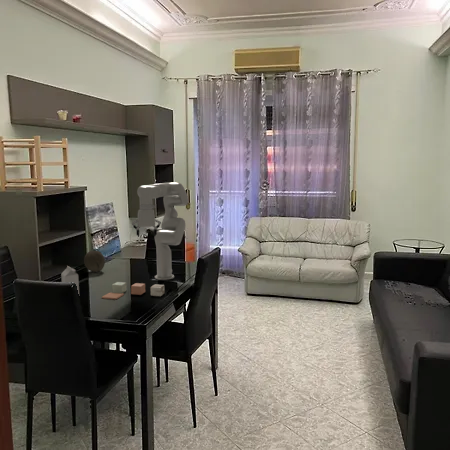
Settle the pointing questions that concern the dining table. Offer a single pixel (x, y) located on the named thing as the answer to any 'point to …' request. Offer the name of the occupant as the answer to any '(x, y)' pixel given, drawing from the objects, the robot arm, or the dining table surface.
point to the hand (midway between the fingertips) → (146, 236)
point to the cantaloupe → (94, 261)
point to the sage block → (119, 287)
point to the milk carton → (70, 276)
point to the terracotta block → (138, 288)
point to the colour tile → (113, 295)
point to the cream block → (157, 290)
